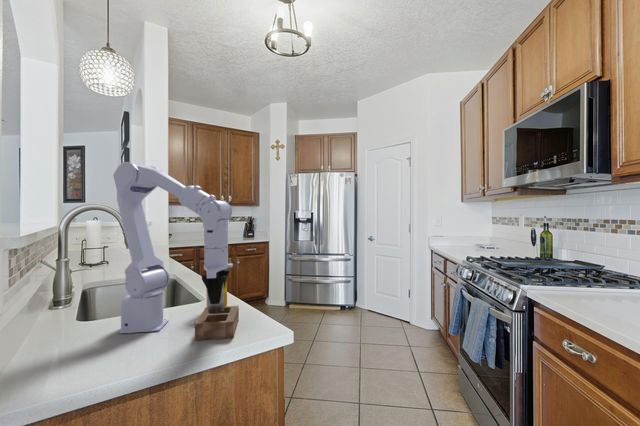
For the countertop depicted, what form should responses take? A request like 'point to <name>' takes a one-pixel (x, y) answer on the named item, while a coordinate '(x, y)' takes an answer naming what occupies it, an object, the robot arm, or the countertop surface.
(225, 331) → the socket block
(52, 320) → the countertop surface
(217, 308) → the peg
